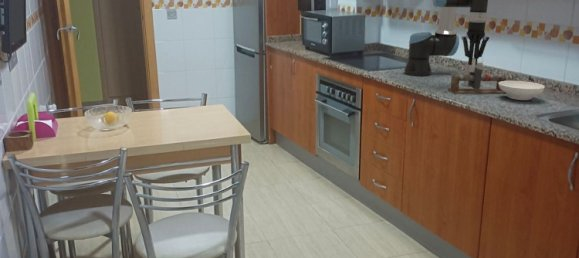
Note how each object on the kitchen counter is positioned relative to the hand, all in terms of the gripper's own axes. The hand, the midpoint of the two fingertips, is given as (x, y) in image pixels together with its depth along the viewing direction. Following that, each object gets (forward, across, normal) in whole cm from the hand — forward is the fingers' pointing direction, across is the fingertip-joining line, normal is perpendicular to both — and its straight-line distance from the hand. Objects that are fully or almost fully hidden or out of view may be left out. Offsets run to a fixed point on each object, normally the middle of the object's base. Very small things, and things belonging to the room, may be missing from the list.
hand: (471, 71), depth 258 cm
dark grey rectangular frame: (+7, +2, 0) cm, 8 cm away
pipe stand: (+10, +4, 0) cm, 11 cm away
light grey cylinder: (+10, +9, +18) cm, 23 cm away
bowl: (+10, +17, -16) cm, 25 cm away
